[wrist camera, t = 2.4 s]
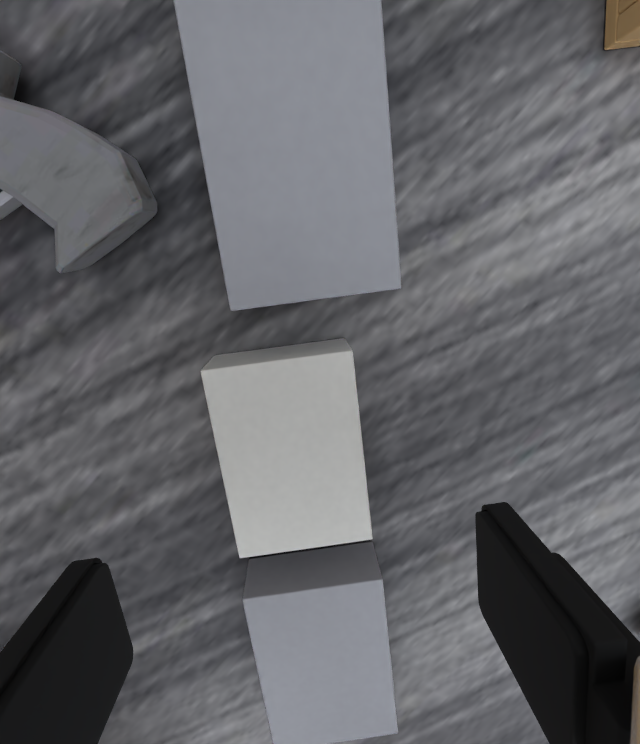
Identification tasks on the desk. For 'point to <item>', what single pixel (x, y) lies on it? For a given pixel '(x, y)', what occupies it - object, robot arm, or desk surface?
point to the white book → (290, 446)
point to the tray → (622, 24)
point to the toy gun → (68, 178)
